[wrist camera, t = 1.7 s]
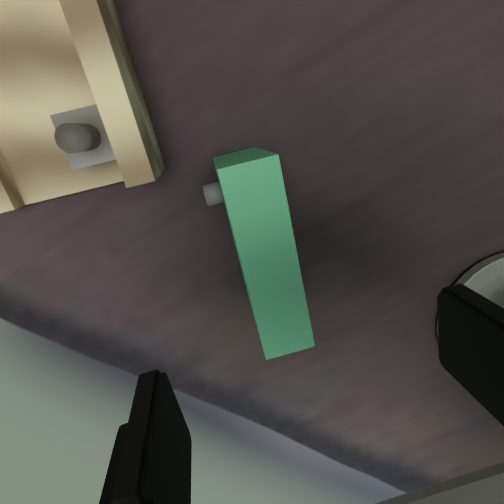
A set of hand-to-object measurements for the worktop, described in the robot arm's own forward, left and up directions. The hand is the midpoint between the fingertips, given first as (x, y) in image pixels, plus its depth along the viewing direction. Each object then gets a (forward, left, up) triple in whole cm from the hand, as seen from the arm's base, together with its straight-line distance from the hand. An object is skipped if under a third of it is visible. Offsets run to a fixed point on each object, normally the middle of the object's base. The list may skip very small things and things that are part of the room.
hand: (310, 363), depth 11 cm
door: (0, 0, -17) cm, 17 cm away
